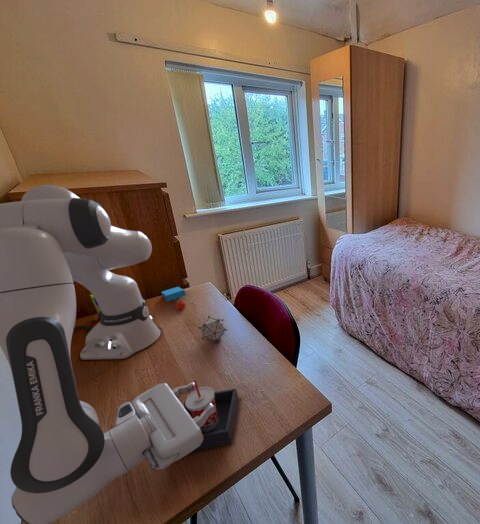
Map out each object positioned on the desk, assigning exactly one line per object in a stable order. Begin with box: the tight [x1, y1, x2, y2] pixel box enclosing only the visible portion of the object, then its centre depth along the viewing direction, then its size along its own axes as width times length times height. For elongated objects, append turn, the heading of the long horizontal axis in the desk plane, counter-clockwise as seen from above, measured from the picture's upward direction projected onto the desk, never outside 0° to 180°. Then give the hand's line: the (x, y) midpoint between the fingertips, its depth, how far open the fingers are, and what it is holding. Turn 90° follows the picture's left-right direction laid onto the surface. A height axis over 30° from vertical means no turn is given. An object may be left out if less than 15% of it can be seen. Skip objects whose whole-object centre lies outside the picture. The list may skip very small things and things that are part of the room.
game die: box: [197, 315, 228, 343], centre depth 99 cm, size 9×8×10 cm
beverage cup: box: [184, 380, 219, 432], centre depth 67 cm, size 6×6×14 cm
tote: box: [182, 388, 240, 452], centre depth 70 cm, size 12×12×4 cm
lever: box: [161, 286, 187, 310], centre depth 123 cm, size 7×7×18 cm
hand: (204, 395), depth 67 cm, fingers open, 8 cm apart
